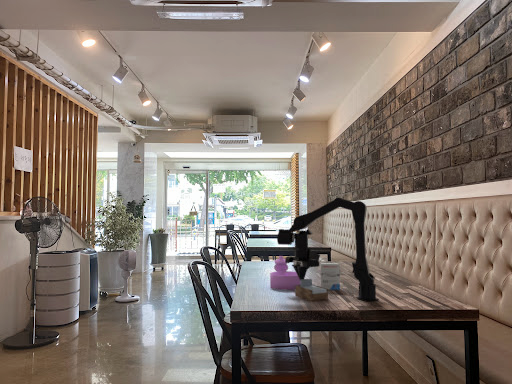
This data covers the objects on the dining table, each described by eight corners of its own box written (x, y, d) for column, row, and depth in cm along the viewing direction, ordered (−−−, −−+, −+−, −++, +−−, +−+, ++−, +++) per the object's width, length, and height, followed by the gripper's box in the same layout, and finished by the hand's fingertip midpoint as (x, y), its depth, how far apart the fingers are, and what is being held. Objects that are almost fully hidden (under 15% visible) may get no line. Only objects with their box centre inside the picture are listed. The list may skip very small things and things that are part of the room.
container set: (305, 289, 173) (305, 260, 174) (273, 290, 172) (272, 261, 173) (294, 280, 198) (294, 255, 199) (265, 281, 196) (265, 255, 197)
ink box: (338, 288, 177) (338, 262, 178) (340, 290, 172) (339, 264, 173) (320, 287, 178) (320, 262, 179) (321, 289, 173) (320, 263, 174)
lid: (326, 292, 152) (326, 282, 152) (312, 293, 149) (312, 283, 149) (311, 288, 161) (311, 278, 161) (298, 289, 158) (298, 279, 158)
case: (328, 299, 152) (328, 288, 152) (311, 301, 148) (311, 290, 148) (311, 294, 162) (311, 284, 163) (295, 296, 159) (295, 285, 159)
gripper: (329, 245, 158) (330, 283, 157) (305, 243, 175) (305, 277, 174) (307, 246, 154) (307, 285, 153) (284, 244, 171) (284, 278, 169)
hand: (301, 281), depth 162 cm, fingers closed
